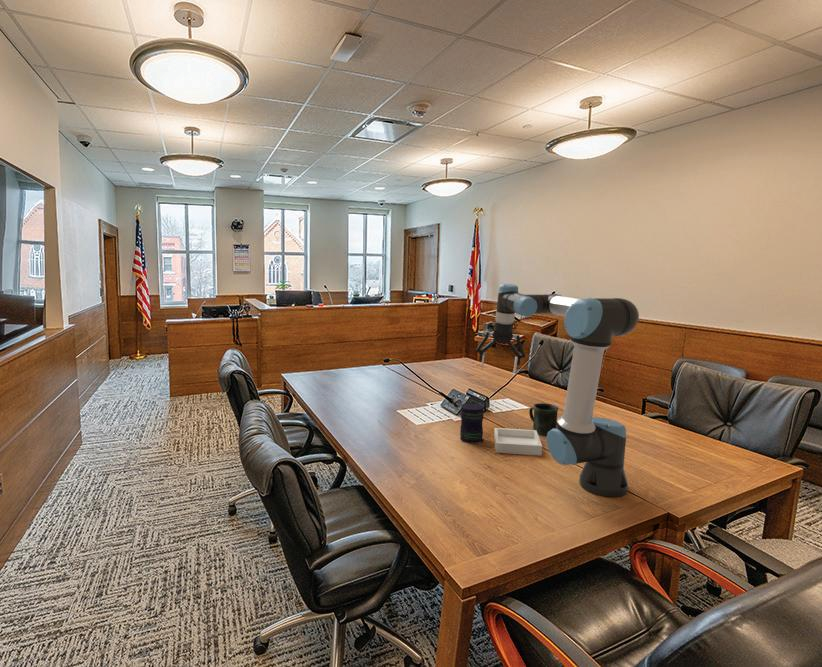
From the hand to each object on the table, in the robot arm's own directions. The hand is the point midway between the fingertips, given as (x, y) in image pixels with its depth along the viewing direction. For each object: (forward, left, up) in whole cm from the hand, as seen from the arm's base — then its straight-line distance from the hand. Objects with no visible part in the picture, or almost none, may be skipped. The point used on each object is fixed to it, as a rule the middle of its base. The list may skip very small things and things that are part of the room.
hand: (498, 370), depth 185 cm
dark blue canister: (0, +10, -31) cm, 33 cm away
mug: (+16, -22, -31) cm, 41 cm away
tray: (-4, -8, -31) cm, 33 cm away
